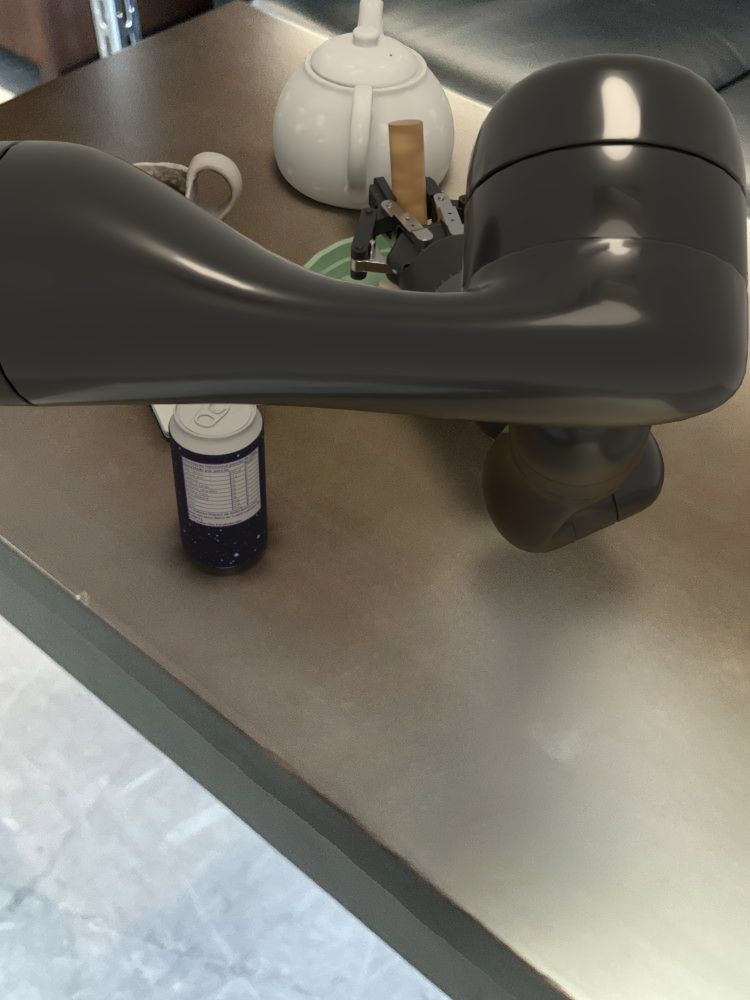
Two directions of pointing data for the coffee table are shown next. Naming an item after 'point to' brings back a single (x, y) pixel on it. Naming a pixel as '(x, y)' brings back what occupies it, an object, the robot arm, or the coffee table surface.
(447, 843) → the coffee table surface
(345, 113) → the teapot
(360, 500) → the coffee table surface
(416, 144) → the brush
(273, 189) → the coffee table surface
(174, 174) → the mug
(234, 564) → the beverage can
